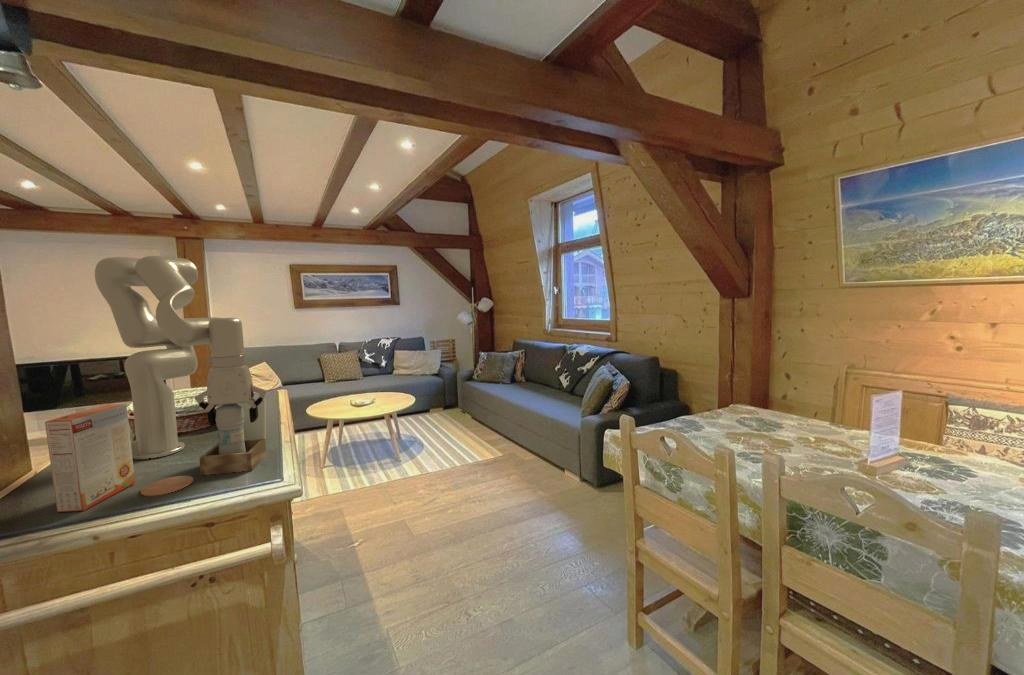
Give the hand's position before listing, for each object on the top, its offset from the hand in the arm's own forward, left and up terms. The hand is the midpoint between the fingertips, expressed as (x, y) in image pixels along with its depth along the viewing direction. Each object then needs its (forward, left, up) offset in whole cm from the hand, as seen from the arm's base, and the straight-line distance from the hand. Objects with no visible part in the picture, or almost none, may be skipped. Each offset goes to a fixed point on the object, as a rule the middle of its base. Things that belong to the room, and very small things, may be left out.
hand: (234, 422), depth 113 cm
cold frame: (0, 0, -12) cm, 12 cm away
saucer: (-11, -11, -12) cm, 20 cm away
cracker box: (-24, -13, -12) cm, 30 cm away
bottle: (-1, 0, -12) cm, 12 cm away
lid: (0, +8, -12) cm, 15 cm away
